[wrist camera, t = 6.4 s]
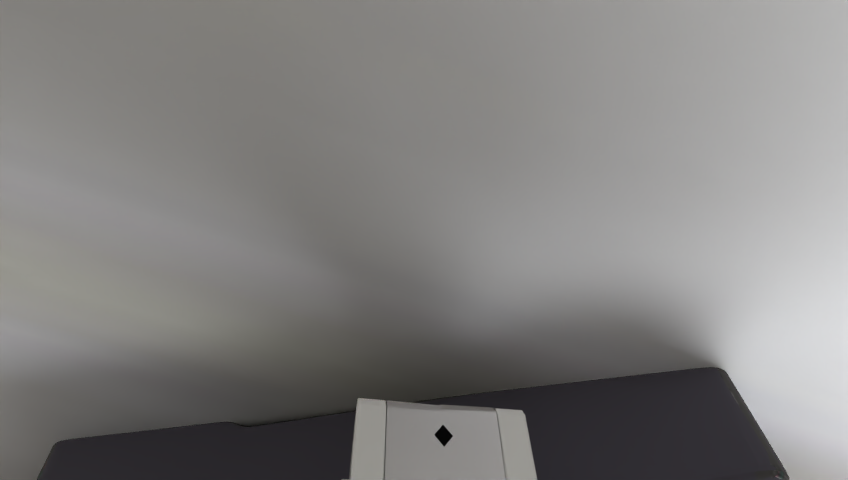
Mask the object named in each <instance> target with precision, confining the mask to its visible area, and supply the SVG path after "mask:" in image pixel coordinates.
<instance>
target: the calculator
mask: <svg viewBox="0 0 848 480" xmlns="http://www.w3.org/2000/svg"><path fill="white" fill-rule="evenodd" d="M412 403H420V404H430V405H457V406H474V407H491V408H493V409H495V408H498V409H512V410H522V411H523V413H524V414H525V417H526V422H527V428H528V433H529V438H530V444H531V449H532V454H533V459H534V465H535V470H536V475H537V480H789V476H788V474H787V472H786V470H785V469H784V467H783V465H782V464H781V462H780V460H779V459H778V457H777V455H776V454H775V452H774V450H773V449H772V447H771V445H770V444H769V442H768V440H767V439H766V437H765V435H764V434H763V432H762V430H761V429H760V427H759V425H758V424H757V422H756V420H755V419H754V417H753V415H752V414H751V412H750V410H749V409H748V407H747V405H746V404H745V402H744V400H743V399H742V397H741V395H740V394H739V392H738V391H737V389H736V387H735V386H734V384H733V382H732V381H731V379H730V378H729V376H728V374H727V373H726V372H725V371H724V370H722V369H719V368H713V367H709V368H697V369H688V370H679V371H670V372H662V373H653V374H644V375H635V376H626V377H617V378H609V379H600V380H591V381H582V382H573V383H565V384H556V385H547V386H539V387H530V388H521V389H513V390H504V391H495V392H487V393H478V394H471V395H463V396H455V397H448V398H440V399H433V400H426V401H419V402H412ZM355 416H356V411H353V412H346V413H340V414H333V415H327V416H320V417H313V418H307V419H300V420H294V421H287V422H280V423H273V424H266V425H259V426H252V427H243V426H240V425H238V424H235V423H232V422H220V423H210V424H201V425H192V426H183V427H174V428H166V429H157V430H148V431H139V432H130V433H121V434H113V435H104V436H95V437H86V438H77V439H70V440H63V441H60V442H57V443H56V444H55V445H54V446H53V448H52V450H51V452H50V454H49V456H48V458H47V460H46V462H45V464H44V466H43V468H42V470H41V472H40V474H39V476H38V478H37V480H342V479H349V474H350V462H351V453H352V444H353V434H354V425H355Z"/></svg>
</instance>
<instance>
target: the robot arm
mask: <svg viewBox="0 0 848 480" xmlns="http://www.w3.org/2000/svg"><path fill="white" fill-rule="evenodd" d="M342 480H537V475H536V470H535V465H534V459H533V454H532V449H531V444H530V438H529V433H528V428H527V422H526V417H525V414H524V413H523V411H522V410H512V409H498V408H495V409H493V408H491V407H474V406H457V405H430V404H420V403H410V402H400V401H389V400H387V401H386V400H376V399H365V398H358V400H357V406H356V416H355V425H354V434H353V444H352V453H351V462H350V474H349V479H342Z"/></svg>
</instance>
